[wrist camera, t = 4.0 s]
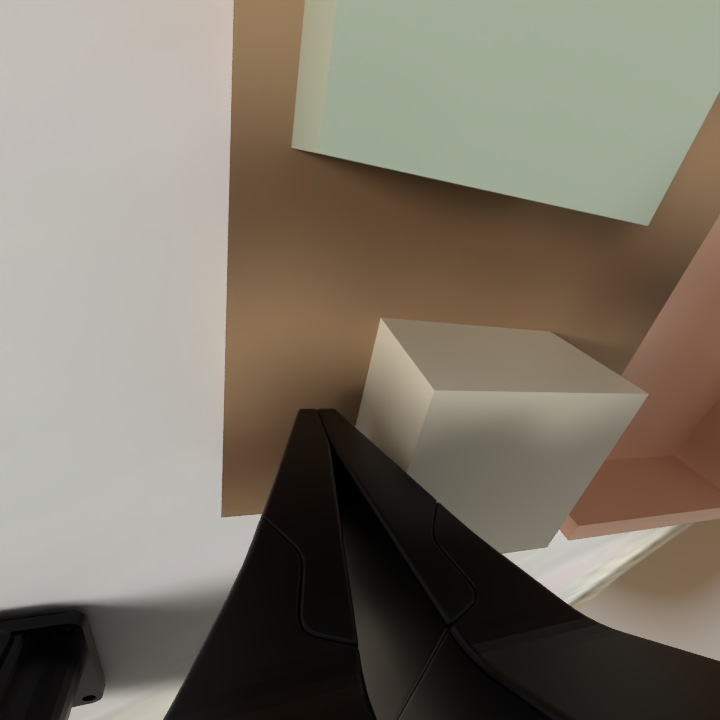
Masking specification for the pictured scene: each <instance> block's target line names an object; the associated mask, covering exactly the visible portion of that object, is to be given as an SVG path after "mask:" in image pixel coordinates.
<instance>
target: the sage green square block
mask: <svg viewBox="0 0 720 720" xmlns="http://www.w3.org/2000/svg"><path fill="white" fill-rule="evenodd" d="M719 92H720V0H305V5H304V16H303V27H302V37H301V48H300V59H299V70H298V81H297V92H296V103H295V114H294V125H293V135H292V146H291V148H294V149H299V150H303V151H308V152H312V153H317V154H321V155H326V156H330V157H335V158H340V159H344V160H349V161H353V162H358V163H362V164H367V165H371V166H376V167H380V168H385V169H390V170H394V171H399V172H403V173H408V174H412V175H417V176H421V177H426V178H430V179H435V180H440V181H444V182H449V183H453V184H458V185H462V186H467V187H471V188H476V189H480V190H485V191H489V192H494V193H499V194H503V195H508V196H512V197H517V198H521V199H526V200H530V201H535V202H540V203H544V204H549V205H554V206H558V207H563V208H567V209H572V210H577V211H581V212H586V213H590V214H595V215H600V216H604V217H609V218H613V219H618V220H623V221H627V222H632V223H636V224H641V225H646V226H648V225H649V223H650V221H651V219H652V218H653V216H654V214H655V212H656V210H657V208H658V206H659V204H660V203H661V201H662V199H663V197H664V195H665V193H666V191H667V189H668V188H669V186H670V184H671V182H672V180H673V178H674V176H675V174H676V173H677V171H678V169H679V167H680V165H681V163H682V161H683V159H684V158H685V156H686V154H687V152H688V150H689V148H690V146H691V144H692V143H693V141H694V139H695V137H696V135H697V133H698V131H699V129H700V127H701V126H702V124H703V122H704V120H705V118H706V116H707V114H708V112H709V111H710V109H711V107H712V105H713V103H714V101H715V99H716V97H717V96H718V94H719Z"/></svg>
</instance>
